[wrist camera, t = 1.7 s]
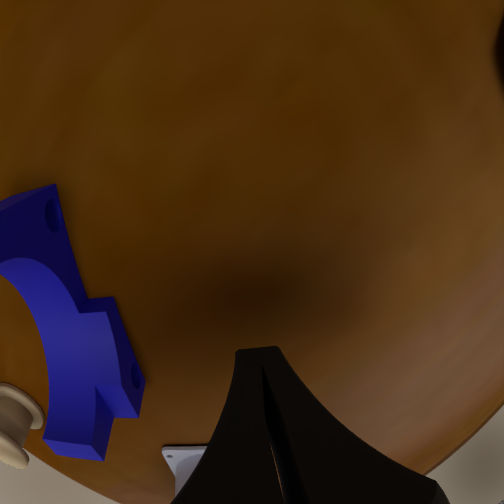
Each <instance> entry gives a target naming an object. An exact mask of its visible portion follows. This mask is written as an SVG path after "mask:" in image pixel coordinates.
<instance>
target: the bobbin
mask: <svg viewBox="0 0 504 504" xmlns="http://www.w3.org/2000/svg"><path fill="white" fill-rule="evenodd" d="M44 419H45V416H44V413H43V411H42V409H41V407H40V406H39V405H38V404H37V403H36V401H35V400H34V399H32V398H31V397H30V396H29V395H28V394H26V393H25V392H24V391H22V390H21V389H19V388H17V387H15V386H13V385H10V384H7V383H0V460H1V461H3V462H5V463H7V464H8V465H11V466H13V467H16V468H19V469H26V468H27V465H28V462H29V456H28V455H27V453H26V452H25V451H24V450H23V449H22V448H23V445H24V443H25V440H26V437H27V435H28V432H29V430H30V429H39V428H41V427H42V424H43V422H44Z"/></svg>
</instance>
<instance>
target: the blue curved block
mask: <svg viewBox="0 0 504 504" xmlns="http://www.w3.org/2000/svg"><path fill="white" fill-rule="evenodd" d="M0 274H1V275H3V276H4V277H5V278H6V279H8V280H9V281H10V282H11V283H12V284H13V285H14V286H15V288H16V289H17V290H18V291H19V292H20V294H21V295H22V297H23V298H24V300H25V301H26V303H27V305H28V307H29V309H30V310H31V312H32V315H33V317H34V319H35V321H36V324H37V327H38V329H39V333H40V336H41V339H42V343H43V346H44V351H45V355H46V361H47V367H48V376H49V410H48V418H47V424H46V428H45V432H44V435H43V438H42V439H43V440H44V441H45V442H46V443H47V445H48V446H49V447H50V448H51V449H52V450H53V451H54V452H55V453H56V454H57V455H62V456H68V457H75V458H82V459H89V460H98V461H104V460H105V455H106V450H107V445H108V441H109V436H110V432H111V428H112V423H113V419H114V417H116V418H139V413H140V408H141V402H142V397H143V392H144V387H145V382H146V381H145V379H144V377H143V374H142V372H141V370H140V367H139V365H138V363H137V360H136V358H135V355H134V353H133V350H132V348H131V345H130V342H129V340H128V337H127V334H126V332H125V329H124V326H123V324H122V321H121V318H120V315H119V312H118V309H117V306H116V303H115V300H114V297H105V298H94V299H88V298H87V295H86V292H85V290H84V287H83V284H82V281H81V278H80V275H79V272H78V268H77V265H76V262H75V259H74V255H73V252H72V248H71V245H70V241H69V238H68V234H67V230H66V226H65V223H64V219H63V214H62V210H61V206H60V201H59V197H58V192H57V187H56V184H52V185H49V186H45V187H41V188H38V189H34V190H31V191H27V192H24V193H20V194H17V195H14V196H10V197H8V198H6V199H4V200H2V201H0Z"/></svg>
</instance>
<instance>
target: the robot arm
mask: <svg viewBox="0 0 504 504" xmlns="http://www.w3.org/2000/svg"><path fill="white" fill-rule="evenodd" d="M269 439H270V440H269ZM270 443H271V445H270ZM271 447H272V449H271ZM272 450H273V454H274V457H275V461H276V464H277V468H278V472H279V476H280V481H281V487H282V492H283V496H282V492H281V488H280V484H279V480H278V475H277V471H276V467H275V463H274V458H273V454H272ZM162 454H163V456H164V458H165V460H166V461H167V463H168V465H169V467H170V469H171V470H172V472H173V474H174V476H175V477H176V480H175V498H174V500H173V501H172V502H171V503H170V504H450V503H449V501H448V499H447V497H446V495H445V493H444V491H443V490H442V489H441V487H440V486H439V484H438V483H437V481H435V480H433V479H430V478H428V477H426V476H423V475H421V474H419V473H417V472H415V471H412V470H410V469H408V468H406V467H404V466H403V465H401V464H399V463H397V462H395V461H393V460H392V459H390V458H388V457H387V456H385V455H384V454H382V453H380V452H379V451H377V450H376V449H374V448H373V447H371V446H370V445H368V444H367V443H365V442H364V441H363V440H361V439H360V438H359V437H357V436H356V435H355V434H354V433H352V432H351V431H350V430H349V429H347V428H346V427H345V426H344V425H343V424H342V423H341V422H339V421H338V420H337V419H336V418H335V417H334V416H333V415H332V414H331V413H330V412H329V411H328V410H327V409H326V408H325V407H324V406H323V405H322V404H321V403H320V402H319V401H318V400H317V399H316V397H315V396H314V395H313V394H312V393H311V392H310V390H309V389H308V388H307V387H306V386H305V384H304V383H303V382H302V381H301V380H300V378H299V377H298V376H297V374H296V373H295V371H294V370H293V369H292V367H291V366H290V364H289V363H288V361H287V360H286V358H285V357H284V355H283V353H282V352H281V350H280V348H279V347H277V346H270V347H260V348H250V349H239V350H238V351H236V352H235V367H234V373H233V377H232V382H231V385H230V389H229V392H228V396H227V399H226V402H225V405H224V408H223V411H222V413H221V416H220V419H219V421H218V424H217V426H216V429H215V431H214V433H213V435H212V437H211V440H210V442H209V444H208V446H187V447H163V448H162ZM283 498H284V499H283ZM499 504H504V500H503V501H501V502H500V503H499Z"/></svg>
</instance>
